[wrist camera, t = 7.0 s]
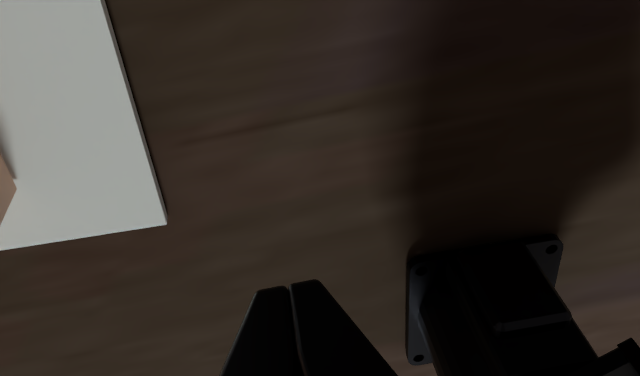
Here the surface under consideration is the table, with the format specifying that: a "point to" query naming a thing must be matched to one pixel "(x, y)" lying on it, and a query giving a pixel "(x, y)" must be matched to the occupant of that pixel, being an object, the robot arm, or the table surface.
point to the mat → (70, 127)
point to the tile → (5, 189)
